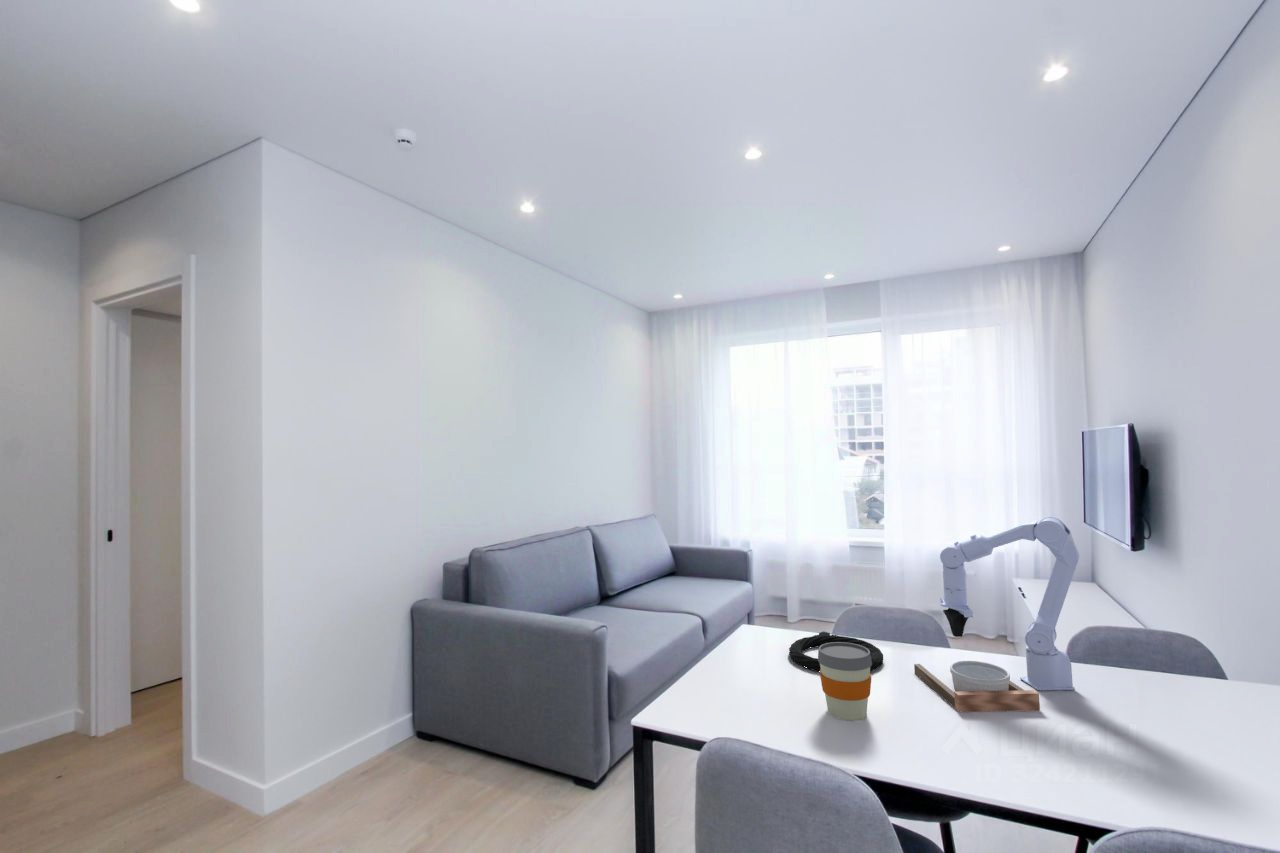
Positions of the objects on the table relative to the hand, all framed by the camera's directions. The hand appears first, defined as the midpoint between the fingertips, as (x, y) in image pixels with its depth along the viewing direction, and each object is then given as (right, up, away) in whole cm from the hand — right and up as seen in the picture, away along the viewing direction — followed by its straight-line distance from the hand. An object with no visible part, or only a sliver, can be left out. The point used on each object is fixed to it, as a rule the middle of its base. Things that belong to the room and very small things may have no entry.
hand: (957, 636), depth 168 cm
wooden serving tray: (-4, -9, -14) cm, 17 cm away
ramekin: (-4, -9, -19) cm, 22 cm away
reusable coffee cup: (-41, -10, -25) cm, 49 cm away
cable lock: (-31, -12, +13) cm, 36 cm away
